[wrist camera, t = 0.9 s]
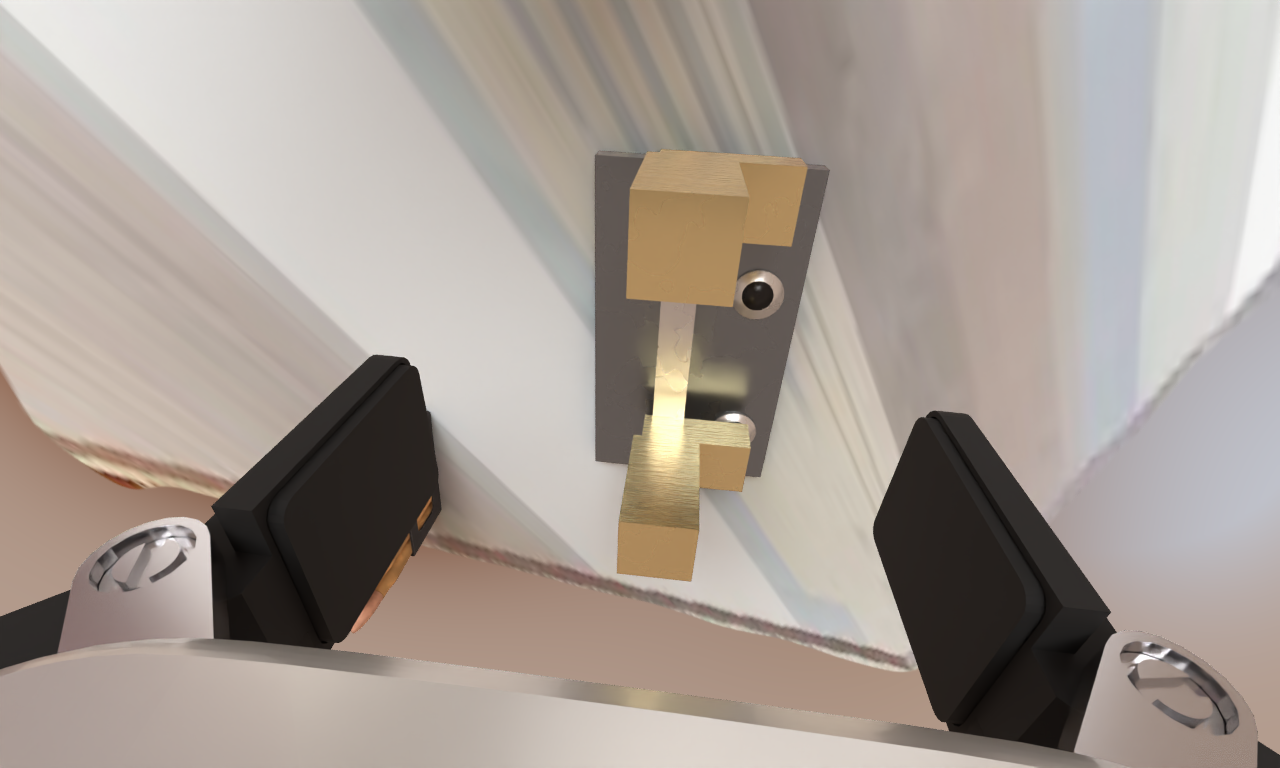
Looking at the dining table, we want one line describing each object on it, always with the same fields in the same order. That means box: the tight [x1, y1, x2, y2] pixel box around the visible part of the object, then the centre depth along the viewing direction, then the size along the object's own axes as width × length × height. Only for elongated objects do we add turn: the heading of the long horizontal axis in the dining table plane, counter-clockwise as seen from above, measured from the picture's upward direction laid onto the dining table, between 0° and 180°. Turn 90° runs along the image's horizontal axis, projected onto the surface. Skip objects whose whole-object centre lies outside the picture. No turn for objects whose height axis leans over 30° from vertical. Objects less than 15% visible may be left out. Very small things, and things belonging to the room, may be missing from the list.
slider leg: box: [626, 149, 808, 307], centre depth 23 cm, size 4×7×10 cm, turn 88°
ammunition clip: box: [351, 411, 441, 633], centre depth 38 cm, size 11×2×12 cm, turn 173°
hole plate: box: [595, 151, 830, 581], centre depth 29 cm, size 21×12×12 cm, turn 178°
